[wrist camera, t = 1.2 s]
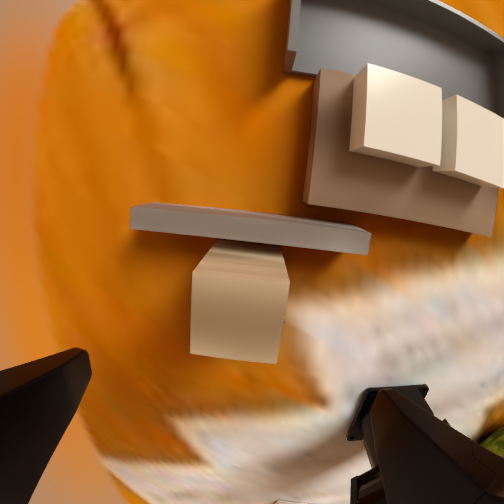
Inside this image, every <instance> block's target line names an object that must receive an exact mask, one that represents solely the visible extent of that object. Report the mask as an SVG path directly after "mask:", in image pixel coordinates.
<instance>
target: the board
mask: <svg viewBox="0 0 504 504" xmlns="http://www.w3.org/2000/svg"><path fill="white" fill-rule="evenodd" d="M355 76H356V75H354V74H350V73H345V72H341V71H336V70H331V69H326V68H321V69H320V70H319V72H318V74H317V76H316V78H315V80H314V89H313V102H312V114H311V125H310V135H309V145H308V155H307V164H306V173H305V182H304V191H303V199H302V201H303V202H305V203H307V204H311V205H318V206H325V207H332V208H339V209H346V210H352V211H359V212H365V213H371V214H377V215H383V216H389V217H395V218H400V219H406V220H411V221H417V222H422V223H427V224H432V225H437V226H442V227H447V228H452V229H456V230H461V231H466V232H470V233H475V234H479V235H483V236H488V237H492V234H493V228H494V221H495V215H496V207H497V198H498V188H492V187H482V186H479V185H476V184H473V183H470V182H467V181H464V180H461V179H458V178H454V177H451V176H448V175H445V174H441V173H438V172H434V171H432V170H433V166H426V167H416V166H413V165H409V164H405V163H401V162H397V161H393V160H388V159H384V158H380V157H375V156H370V155H366V154H361V153H356V152H351V151H349V146H350V134H351V121H352V105H353V85H354V77H355Z"/></svg>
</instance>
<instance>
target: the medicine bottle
mask: <svg viewBox="0 0 504 504" xmlns="http://www.w3.org/2000/svg"><path fill="white" fill-rule="evenodd" d="M274 504H311V503H300V502H291V501H283V500H278V501H277V502H275V503H274Z"/></svg>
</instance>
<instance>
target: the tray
mask: <svg viewBox="0 0 504 504" xmlns="http://www.w3.org/2000/svg"><path fill="white" fill-rule="evenodd" d="M367 63H369V64H373V65H377V66H380V67H383V68H387V69H390V70H393V71H397V72H400V73H403V74H406V75H409V76H411V77H414V78H417V79H420V80H423V81H425V82H428V83H430V84H433V85H435V86H438V87H440V88H442V100H444V99H446V98H449V97H451V96H454V95H456V94H457V95H459V96H461V97H463V98H465V99H467V100H470V101H472V102H474V103H476V104H478V105H480V106H482V107H483V108H485V109H487V110H489V111H491V112H493V113H495V114H497V115H498V116H500V117H502V118H504V38H502V37H501V36H499V35H498V34H496V33H495V32H493V31H492V30H490V29H489V28H487V27H486V26H484V25H482V24H481V23H479V22H478V21H476V20H474V19H472V18H471V17H469V16H467V15H465V14H464V13H462V12H460V11H458V10H456V9H454V8H452V7H451V6H449V5H447V4H445V3H443V2H440V1H438V0H290V7H289V19H288V29H287V40H286V51H285V61H284V71H283V72H285V73H293V74H300V75H307V76H313V77H316V76H317V74H318V72H319V70H320V69H321V68H326V69H331V70H336V71H341V72H345V73H350V74H354V75H357V74H358V73H359V72H360V71H361V70H362V69H363V68H364V66H365V65H366V64H367Z"/></svg>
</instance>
